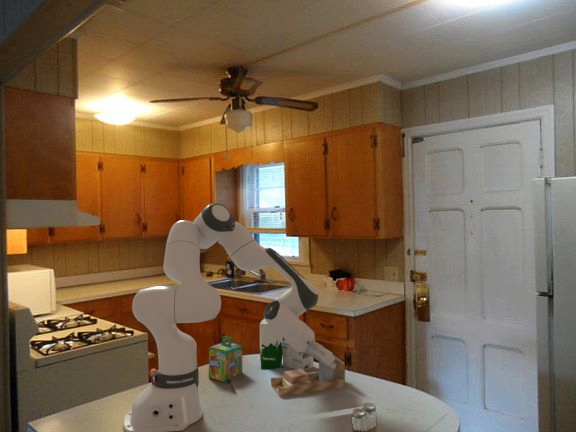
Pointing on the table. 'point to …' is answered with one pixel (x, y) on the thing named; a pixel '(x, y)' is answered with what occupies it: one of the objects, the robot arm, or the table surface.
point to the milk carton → (270, 347)
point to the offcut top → (296, 376)
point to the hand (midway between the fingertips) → (326, 362)
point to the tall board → (325, 372)
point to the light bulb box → (296, 358)
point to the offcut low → (286, 384)
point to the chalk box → (225, 360)
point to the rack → (312, 382)
